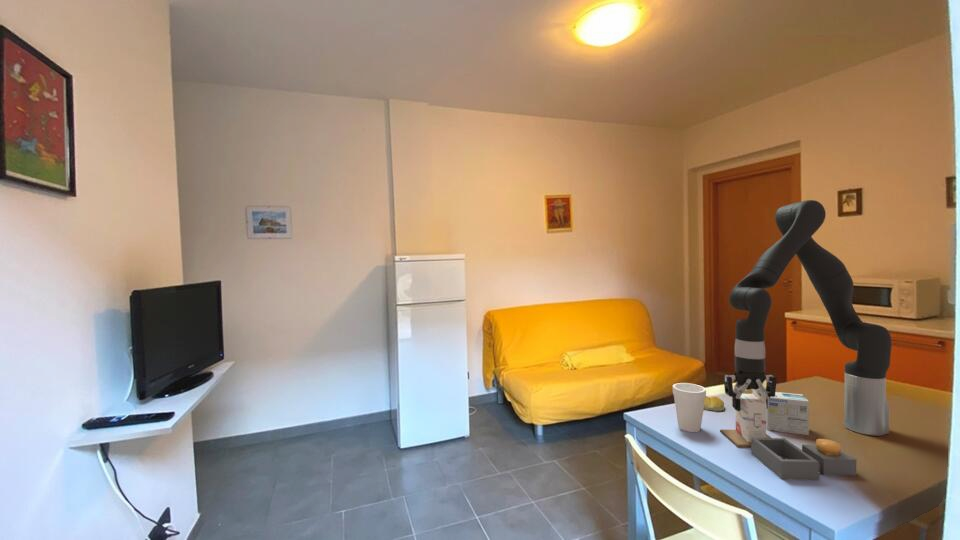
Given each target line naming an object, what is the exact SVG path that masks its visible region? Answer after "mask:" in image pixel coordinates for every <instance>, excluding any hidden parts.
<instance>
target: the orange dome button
mask: <svg viewBox="0 0 960 540" xmlns="http://www.w3.org/2000/svg"><path fill="white" fill-rule="evenodd" d="M815 445H816V447H817V448H818V450H819V451H821V452H822V453H824V454H825V455H839V453H841V451H842V446H841V444H840V443H839V442H837V441H834V440H831V439H828V438H827V439H826V438H818V439H816V440H815Z"/></svg>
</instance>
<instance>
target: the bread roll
mask: <svg viewBox="0 0 960 540" xmlns="http://www.w3.org/2000/svg"><path fill="white" fill-rule="evenodd" d="M705 409H706V411H712V410H713V411H712V412H722V410H723V411H725V402H724V401H723V400H722V399H721V398H720V397H717V396H711V397H710V396H707V395H706V398H705V403H704V410H705Z"/></svg>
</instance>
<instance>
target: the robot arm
mask: <svg viewBox="0 0 960 540" xmlns="http://www.w3.org/2000/svg"><path fill="white" fill-rule="evenodd" d="M774 218H775V219H774V220H775V224H776V226H777V228H778V230H779V232H780V233H781V235H782V237H781V238H780V239H778V240H777V241H776V242H775V243H774V244H772V245H771V246H770V247H769V248H768V249H767V250H766V251H764V252H763V253H762V254H761V256H760V257H759V258H758V260H757V261H756V263H755V264H754V266H753V268H752V269H751V271H750V272H749V273H748V274H747V275H745V277H744V278H742V279H741V280H740V281H739V282H738V283H736V284H735V285H734V286H733V288H732V290H731V291H730V293H729V298H728V301H729V302H728V303H729V304H730V307H732V308H733V309H735V310H737V311H738V310H739V311H744V312H748V315H747V317H746V318H739V319H737V320H736V322H735V341H734V370H735V371H734V373H733V375H732V374H731V375H730V374H729V375H728V374H724V375H723V384H724V387H723V388H724V393H725V394H726V395H727V396H729V397H731V398H732V399H731V401H732V402H731V403H732V408H733V409H734V410H735V411H736V410H737V411H740V410H741V399H739V398H740V396H741V395H742V393H744V392H745V390H746V389H747V390H749V389H754V390H757V389H760V390H761V391H763V392H764V393H765V395H766V405H768V398H769V397H774V396H775V391H777V377H776V376H774V375H772V374H767V375H766V373H765V371H766V345H765V326H766V323H767V318H768V317H769V313H770V310H771V307H772V297H771V294H770V293H769V292H768V291H767V290H766V289H770V288H773V287H774V286H775V285H776V284H777V283H778V281H779V279H780V278H781V276H782V275H783V273H784V271H785V270H786V269H787V266H788V265H789V263H790V262H791V261H792V259H793V258H794V257H797V258H798V260H799V261H800V263H801V266H802V267H803V268H804V270H805V273H806V275H807V277H808V278H809V281H810V283H811V284H812V285H813V288H814V289H815V291H816V293H817V294H818V296H819V298H820V300H821V303H822V304H823V306H824V307H825V310H826V313H828V316H829V318H830V321H831V322H832V326H833V328H834V331H835V334H836V337H837V338H838V340H839V342H840V343H841V344H842V345H843V346H844V347H845V348H847V349H849V350H852V351H855V352H857V355H856V359H855V361H854V360H853V361H847V362H846V363H845V364H844V401H843V403H844V404H843V409H844V411H843V426H844V427H845V429H848V430H850V431H852V432H855V433H858V434H862V435H868V436H875V437H876V436H878V437H879V436H884V435H887V434H890V402H889V401H887V400H886V398H887V396H886V395H887V394H886V393H887V390H886V388H887V384H886V383H887V381H886V380H887V372H888V371H889V368H890V365H891V357H892V355H891V354H892V345H893V344H892V342H893V341H892V336H891V333H890V331H889V330H888V329H887V328H886V327H884V326H882V325H880V324H876V323H871V322H870V323H869V322H866V321H863V320H862V319H861V318H860V317H859V315H858V313H857V311H856V310H855V307H854V305H853V295H854V287H855V286H854V285H855V284H854V281H853V278H852V276H851V275H850V273H849V270H848V268H847V267H846V265H845V263H844V262H843V261H842V260H841V259H839V258H838V257H837V256H836V255H835V254H834V253H831V252H830V251H829V250H827V248H826V249H825V248H824V247H823V246H821V245H820V244H818V242H816V240H815V239H814V238H813V237H812V236H813V235H815V233H816V232H818V230H819V229H820V228H821V227H822V225H823V224H824V222H825V219H826V208H825V207H824V205H823V204H822V203H821V202H819V201H817V200H812V199H808V200H803V201H798V202H797V201H796V202H793V203H790V204H787V205H783V206H781V207H779V208H777V210H776V211H775V215H774ZM765 380H766V382H767V384H766V390H765V388H764V386H763V385H762V384H763V382H764V381H765ZM735 382H736V383H735ZM733 383H735V384H734V386H733ZM740 386H741V388H740ZM758 393H759V392H758ZM759 395H760V396H761V394H760V393H759ZM767 408H768V406H767ZM767 408H766V409H767Z"/></svg>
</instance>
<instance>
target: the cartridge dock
mask: <svg viewBox="0 0 960 540" xmlns="http://www.w3.org/2000/svg"><path fill="white" fill-rule="evenodd" d="M750 449H751V450H750V451H751V455H752V456H753V457H755V458H756V459H757V460H758V461H759V462H760V463H762V464H763V465H764V466H765V467H766V468H767V469H769V470H770V471H771V472H772V473H773V474H775V475H776V476H777V477H778V478H779V479H781V480H798V481H799V480H800V481H802V480H803V481H805V480H806V481H807V480H809V481H812V480H813V481H819V479H820V478H819V474H821V475H824V476H825V475H826V476H827V475H829V476H857V458H854V457H853V456H851V455H850V454H848V453H846V452H845V451H843V450H841V453H839V455H825V454H824V453H822V452H821V451H819V450H818V448H817V447H816V444H801V448H799V447H798V446H797V445H795V444H793V443H792V442H791V441H789V440H788V439H786V438H783V437H781V438H780V437H778V438H777V437H776V438H775V437H771V438H752V439H751V448H750ZM784 458H785V459H784Z"/></svg>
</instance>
